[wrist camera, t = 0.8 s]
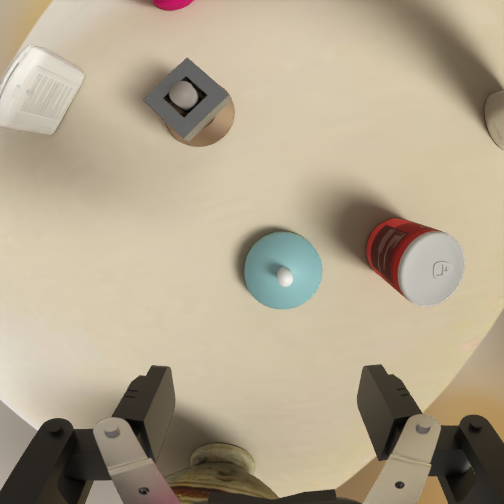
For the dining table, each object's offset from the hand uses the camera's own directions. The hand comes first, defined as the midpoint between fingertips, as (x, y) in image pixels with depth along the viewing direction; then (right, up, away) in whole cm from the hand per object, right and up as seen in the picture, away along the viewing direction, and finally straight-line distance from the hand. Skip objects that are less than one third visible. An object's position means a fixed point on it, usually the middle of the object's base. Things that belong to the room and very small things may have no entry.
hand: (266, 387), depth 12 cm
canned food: (+17, +6, +26) cm, 32 cm away
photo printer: (-26, +26, +22) cm, 43 cm away
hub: (+3, +4, +27) cm, 27 cm away
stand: (-7, +22, +23) cm, 32 cm away
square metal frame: (-7, +20, +17) cm, 27 cm away
